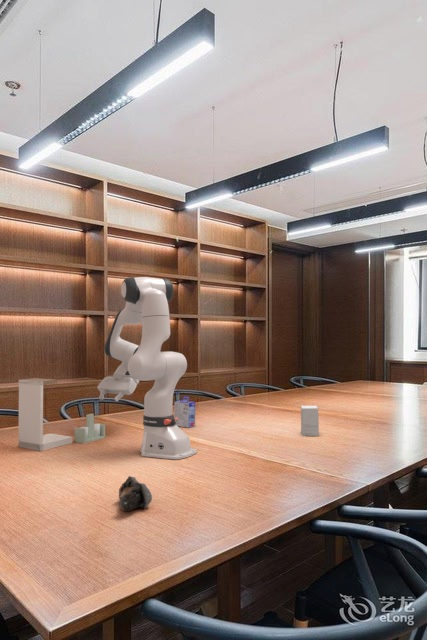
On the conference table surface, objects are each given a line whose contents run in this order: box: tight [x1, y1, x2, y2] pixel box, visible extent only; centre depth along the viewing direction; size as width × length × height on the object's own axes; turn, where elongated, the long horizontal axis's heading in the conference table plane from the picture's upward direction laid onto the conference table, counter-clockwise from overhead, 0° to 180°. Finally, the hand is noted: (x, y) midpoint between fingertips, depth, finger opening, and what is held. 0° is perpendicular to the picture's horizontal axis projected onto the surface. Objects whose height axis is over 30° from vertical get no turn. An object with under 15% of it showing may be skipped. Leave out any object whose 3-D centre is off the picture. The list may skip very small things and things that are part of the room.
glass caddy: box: [74, 413, 106, 444], centre depth 202 cm, size 6×12×11 cm, turn 147°
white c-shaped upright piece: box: [18, 377, 73, 452], centre depth 194 cm, size 14×16×28 cm
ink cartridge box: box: [173, 395, 196, 429], centre depth 231 cm, size 10×6×14 cm, turn 53°
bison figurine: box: [118, 475, 153, 512], centre depth 124 cm, size 12×7×10 cm
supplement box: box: [300, 405, 320, 437], centre depth 210 cm, size 7×7×13 cm
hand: (107, 399), depth 211 cm, fingers open, 8 cm apart
